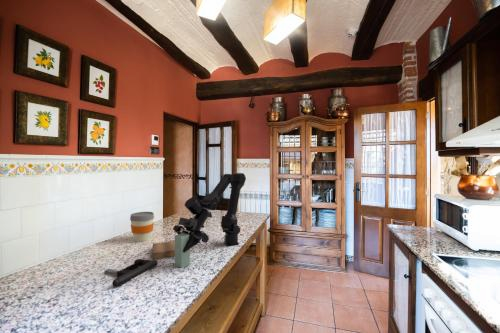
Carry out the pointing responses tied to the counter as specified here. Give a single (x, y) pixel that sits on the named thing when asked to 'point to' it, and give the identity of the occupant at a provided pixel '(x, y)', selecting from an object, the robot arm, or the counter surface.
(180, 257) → the green post
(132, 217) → the reusable coffee cup
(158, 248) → the walnut base
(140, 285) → the counter surface
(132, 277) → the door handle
